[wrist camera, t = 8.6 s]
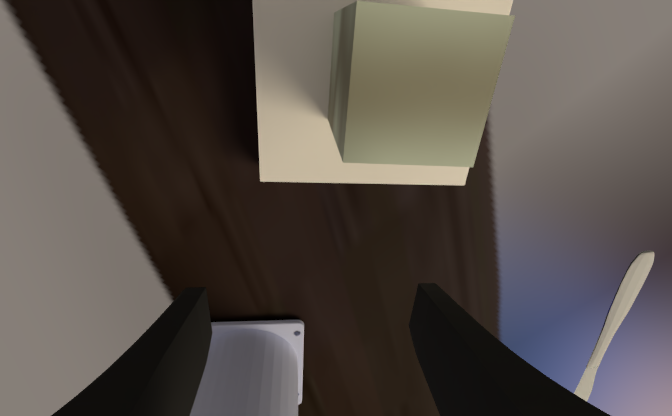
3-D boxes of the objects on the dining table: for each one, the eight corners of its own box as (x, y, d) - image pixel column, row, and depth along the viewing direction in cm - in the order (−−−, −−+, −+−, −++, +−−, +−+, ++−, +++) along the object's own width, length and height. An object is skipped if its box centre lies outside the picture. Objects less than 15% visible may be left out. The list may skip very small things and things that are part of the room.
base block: (449, 171, 20) (464, 185, 18) (263, 167, 19) (260, 181, 17) (503, -57, 15) (531, -69, 13) (254, -85, 14) (248, -102, 12)
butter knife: (673, 250, 25) (638, 256, 24) (567, 444, 38) (543, 450, 37) (665, 246, 25) (631, 251, 25) (563, 439, 38) (540, 444, 38)
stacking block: (416, 123, 16) (473, 167, 11) (327, 119, 16) (342, 162, 11) (435, 21, 14) (514, 15, 9) (334, 12, 14) (356, 0, 9)
